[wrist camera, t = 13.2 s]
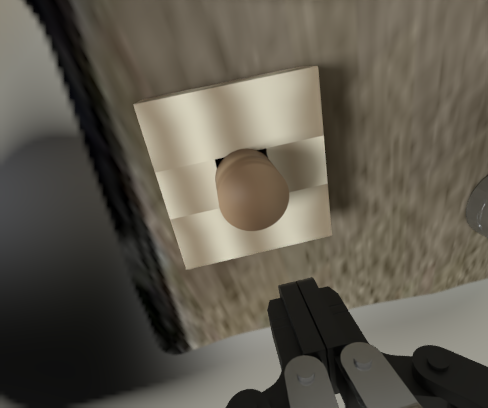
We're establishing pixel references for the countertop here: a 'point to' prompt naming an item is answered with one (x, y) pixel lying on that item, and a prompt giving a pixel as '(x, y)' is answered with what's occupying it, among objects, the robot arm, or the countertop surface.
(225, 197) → the walnut peg
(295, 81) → the birch block
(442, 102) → the countertop surface
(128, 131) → the countertop surface
